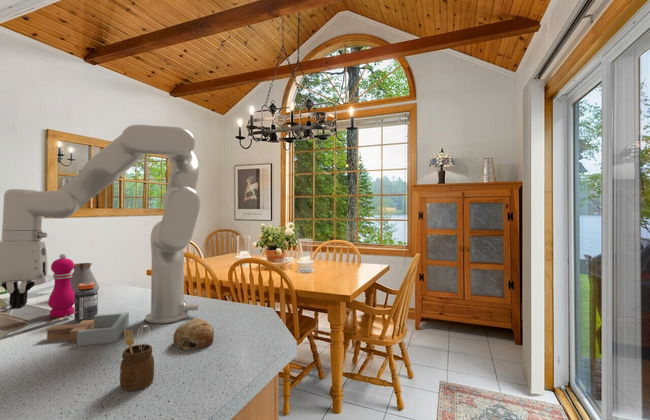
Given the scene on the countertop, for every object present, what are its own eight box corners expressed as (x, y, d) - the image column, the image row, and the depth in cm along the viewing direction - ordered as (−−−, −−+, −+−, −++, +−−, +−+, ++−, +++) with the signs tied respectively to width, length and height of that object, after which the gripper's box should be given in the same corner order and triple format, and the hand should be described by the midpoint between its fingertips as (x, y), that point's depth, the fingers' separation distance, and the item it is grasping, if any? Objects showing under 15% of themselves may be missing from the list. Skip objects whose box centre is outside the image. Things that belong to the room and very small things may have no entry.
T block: (56, 333, 92) (57, 322, 92) (94, 329, 95) (94, 319, 95) (41, 345, 84) (41, 334, 84) (83, 341, 87) (83, 330, 87)
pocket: (128, 323, 101) (128, 312, 101) (115, 341, 87) (115, 328, 87) (95, 326, 98) (96, 314, 98) (77, 346, 84) (77, 332, 84)
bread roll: (171, 363, 83) (169, 340, 79) (177, 333, 92) (175, 310, 88) (213, 359, 85) (212, 336, 82) (215, 329, 94) (214, 308, 91)
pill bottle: (76, 317, 106) (76, 282, 106) (98, 315, 108) (99, 280, 108) (72, 323, 100) (72, 286, 100) (96, 320, 103) (96, 284, 103)
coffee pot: (64, 295, 133) (64, 258, 133) (98, 291, 140) (99, 256, 140) (60, 308, 116) (60, 265, 116) (100, 303, 122) (100, 262, 122)
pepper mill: (60, 318, 105) (61, 255, 105) (41, 317, 106) (42, 254, 106) (81, 311, 112) (82, 252, 112) (63, 310, 113) (64, 252, 113)
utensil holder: (159, 376, 69) (160, 319, 69) (142, 393, 63) (142, 330, 63) (132, 376, 69) (132, 318, 69) (111, 392, 63) (112, 329, 63)
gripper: (62, 236, 92) (59, 302, 92) (-6, 235, 87) (-10, 305, 87) (50, 238, 85) (46, 309, 85) (-25, 237, 80) (-30, 313, 80)
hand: (18, 307), depth 86 cm, fingers closed
